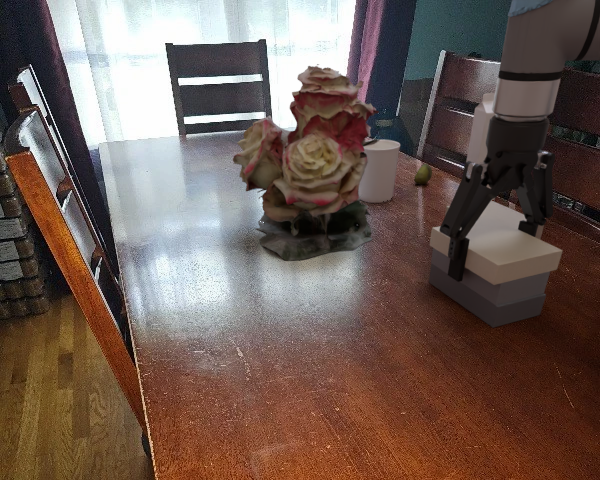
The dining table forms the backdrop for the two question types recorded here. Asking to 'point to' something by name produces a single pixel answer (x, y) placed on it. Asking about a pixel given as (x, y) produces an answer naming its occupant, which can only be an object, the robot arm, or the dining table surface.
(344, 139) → the rose bouquet
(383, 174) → the white cup
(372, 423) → the dining table surface
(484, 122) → the milk
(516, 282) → the grey stack
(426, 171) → the lime
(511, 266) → the cream book
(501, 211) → the cream stack
